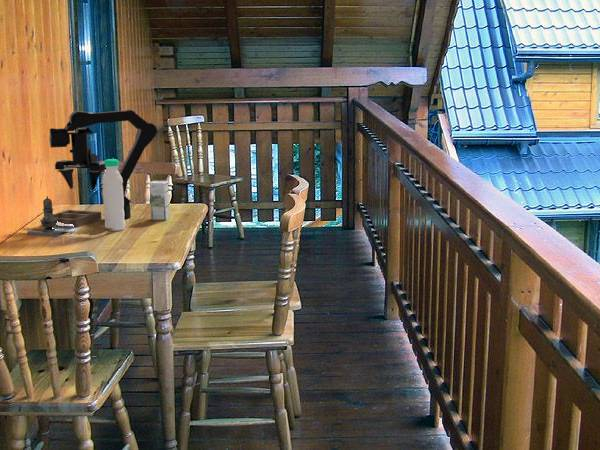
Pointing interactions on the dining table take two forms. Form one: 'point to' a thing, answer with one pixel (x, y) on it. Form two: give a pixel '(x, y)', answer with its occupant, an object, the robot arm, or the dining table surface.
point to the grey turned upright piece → (48, 216)
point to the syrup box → (159, 200)
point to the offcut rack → (77, 217)
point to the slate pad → (45, 233)
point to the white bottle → (113, 196)
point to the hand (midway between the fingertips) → (82, 189)
